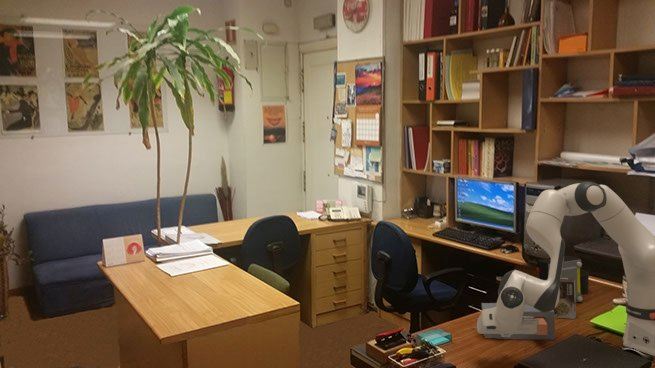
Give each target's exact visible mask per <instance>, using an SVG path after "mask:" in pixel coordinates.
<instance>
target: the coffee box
mask: <svg viewBox="0 0 655 368" xmlns="http://www.w3.org/2000/svg"><path fill="white" fill-rule="evenodd" d="M559 292H560V295H559V302H558V304H557V306H556V308H555V309H554V317H555V318H559V319H571V320H575V319H576V318H577V311H576V309H577V305H576V303H577V302H576V301H575V278H562V277H561V279H560V285H559Z"/></svg>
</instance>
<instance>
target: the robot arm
mask: <svg viewBox="0 0 655 368" xmlns="http://www.w3.org/2000/svg"><path fill="white" fill-rule="evenodd" d="M587 213H591V214H592V216H593V218H595V220H596V221H597V222H598V224H600V226H601V227H602V228H603V230H605V232H606V233H607V235H608V236H609V237H610V238H611V239H612V240H613V242H615V243H616V244H617V246H618V252H619V254H620V256H621V260H622V265H623V270H624V274H625V279H626V296H627V302H626V303H625V313H626V314H627V315H626V322H625V329H624V334H623V337H622V341H623V343H622V344H623V345H622V346H623V347H625V348H629V349H632V348H634V349H633V350H635V349H636V350H635V351H638V352H642V353H643V354H644V353H645V354H648V355H651V356H653V357H655V235H654V234H653V233H652V232H651V231H650V230H649V229H648V228H647V227H646V226H645V225H644V224H643V223H642V222H641V221H640V220H639V219H638V218H637V216H636V215H635V214H634V213H633V212H632V210H631V209H630V208H629V207H628V206H627V204H626V203H625V202H624V201H623V199H621V197H620V196H619V195H618V194H617V193H616V192H614V190H612V189H611V188H610V187H609V186H608V185H605V184H598V183H597V182H593V181H582V182H579V183H578V182H577V183H573V184H570V185H567V186H564V187H563V188H562V187H561V188H558V189H545V190H543V191H541V192H540V194H539V195H538V197H537V198H536V200H535V202H534V204H533V205H532V207H531V210H530V211H529V214H528V217H527V220H526V224H525V229H526V233H527V236H529V238H530V239H531V240H532V241H533V242H534V243H535V244H537V246H539V247H540V248H541V249H543V250H544V251H545V252H546V254H547V255H548V256H549V257H550V258H551V263H550V269H549V275H548V279H547V280H541V279H539V277H535V276H533V275H530V274H528V273H525V272H523V271H521V270H517V269H513V270H510V271H508V272H506V273H505V274H503V276H502V278H501V280H500V283H499V286H498V289H497V290H498V291H497V293H498V294H497V295H498V297H497V301H496V303H497V304H496V307H494V308H490V309H484V310H482V309H481V313H480V315H479V316H478V318H477V322H476V329H477V330H476V331H477V333H478V334H480V335H481V334H483V335H484V334H500V335H501V337H510V335H512V334H536V333H537V325H538V324H539V319H535V318H534V317H532V316H523V313H524V308H525V304H527V305H529V306H532V307H534V308H535V309H537V310H539V311H541V312H543V313H544V312H549V311H552V310H554V309H555V308H556V306H557V304H558V302H559V295H560V292H559V285H560V279H561V274H562V267H563V261H564V256H565V250H566V242H565V239H564V238H563V237H562V236H561V228H562V227H561V226H562V225H563V222H564V218H566V217H574V216H580V215H583V214H587Z"/></svg>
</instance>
